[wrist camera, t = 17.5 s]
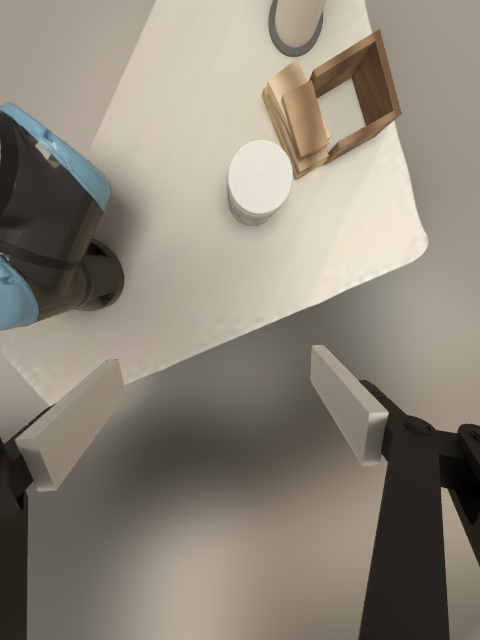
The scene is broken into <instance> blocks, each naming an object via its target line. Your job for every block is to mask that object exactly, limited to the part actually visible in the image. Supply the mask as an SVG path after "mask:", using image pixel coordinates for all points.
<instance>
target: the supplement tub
mask: <svg viewBox="0 0 480 640" xmlns="http://www.w3.org/2000/svg"><path fill="white" fill-rule="evenodd" d="M292 183H293V169H292V165H291V162H290V159H289V157H288V155H287V154H286V152H285V151H284V150H283V149H282V148H281V147H280V146H279V145H277V144H276V143H274V142H272V141H269V140H264V139H259V140H253V141H250V142H248V143H246V144H245V145H243V146H242V147H241V148H240V149H239V150H238V151H237V152H236V153H235V155H234V156H233V158H232V160H231V163H230V166H229V169H228V174H227V190H228V201H229V207H230V210H231V212H232V214H233V215H234V217H235V218H236V219H237V220H238V221H239V222H241V223H243V224H245V225H249V226H255V225H259V224H262V223H264V222H265V221H266V220H268V219H269V218H270V217H271V216H272V215H273V214H274V213H275V212H276V211H277V210H278V209H279V208H280V207H281V206H282V205H283V204H284V202H285V201H286V199H287V197H288V195H289V193H290V190H291V187H292Z"/></svg>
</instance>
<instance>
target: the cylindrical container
mask: <svg viewBox="0 0 480 640" xmlns="http://www.w3.org/2000/svg"><path fill="white" fill-rule="evenodd" d="M325 2H326V0H278V2H277V8H276V15H275V27H276V31H277V34H278V36H279V38H280V39H281V41H282V42H283V43H284V44H286V45H287V46H289V47H293V48H297V47H301V46H303V45H305V44H306V43H307V42H308V41H309V40H310V39H311V38H312V36H313V35H314V32H315V30H316V27H317V24H318V21H319V19H320V16H321V13H322V10H323V7H324V4H325Z"/></svg>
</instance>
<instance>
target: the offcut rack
mask: <svg viewBox="0 0 480 640" xmlns="http://www.w3.org/2000/svg"><path fill="white" fill-rule="evenodd" d="M351 77H352V80H353V83H354V86H355V90H356V93H357V97H358V100H359V103H360V107H361V110H362V113H363V117H364V120H365V123H366V127H364V128H362V129H360V130H359V131H357V132H355V133H353V134H352V135H350V136H348V137H347V138H345V139H343V140H341V141H340V142H338V143H337V144H336V145H335V146H334V147H333V148H332V149H331V151H330V152H329V153H328V152H327V149H326V146H327V145H328V144H329V142H328V139H329V138H330V137H331V136H330V134H329V132H328V130H327V127H326V125H325V123H324V120H323V118H322V116H321V113H320V109H319V105H318V102H317V98H318V97H320V96H321V95H323V94H325V93H326V92H328V91H330V90H331V89H333V88H335V87H336V86H338V85H340V84H341V83H343V82H345V81H346V80H348V79H349V78H351ZM262 97H263V100H264V102H265V105H266V107H267V110H268V112H269V115H270V117H271V120H272V122H273V125H274V127H275V130H276V132H277V135H278V138H279V140H280V143H281V145H282V148H283V150H284V151H285V152H286V154H287V155H288V157H289V159H290V162H291V165H292V169H293V175H294V178H295V180H296V179H298V178H300V177H301V176H303V175H305V174H307V173H308V172H310V171H312V170H314V169H315V168H317V167H319V166H321V165H323V164H324V165H325V164H327V163H329V162H331V161H332V160H334V159H336V158H338V157H339V156H341V155H343V154H345V153H347V152H348V151H350V150H352V149H354V148H355V147H357V146H359V145H361V144H362V143H364V142H366V141H368V140H370V139H371V138H373V137H375V136H376V135H377V134H378V133H380V132H381V131H382V130H383V129H384V128H385V127H387V126H388V125H389V124H390V123H391V122H392V121H394V120H395V119H396V118H397V117H398V116H399V115H401V111H400V106H399V102H398V99H397V95H396V91H395V87H394V83H393V79H392V75H391V71H390V67H389V64H388V60H387V56H386V52H385V48H384V44H383V40H382V36H381V32H380V30H377V31H376V32H374V33H372V34H371V35H369V36H368V37H366V38H364V39H363V40H361V41H359V42H358V43H356V44H355V45H353V46H351V47H350V48H348V49H347V50H345V51H343V52H342V53H340V54H339V55H337V56H335V57H334V58H332V59H330V60H329V61H327V62H326V63H324V64H322V65H321V66H319V67H318V68H316V69H314V70H313V73H312V75H311V77H310V80H309V82H307V81H306V79H305V77H304V74H303V72H302V70H301V67H300V65H299V63H298V61H297V59H296V60H295V61H293V62H292V63H291V64H289V65H288V66H287V67H286V68H284V69H283V70H282V71H280V72H279V73H278V74H276V75H275V76H274V77H273V78H271V79H270V80H269V81H268V84H267V87H265V88H264V89H263V95H262Z"/></svg>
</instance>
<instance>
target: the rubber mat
mask: <svg viewBox="0 0 480 640" xmlns="http://www.w3.org/2000/svg"><path fill="white" fill-rule="evenodd" d="M277 2H278V0H274V1H273V3H272V6H271V9H270V15H269V32H270V36H271V39H272V41H273V43H274V45H275V46H276V48H277V49H278V50H279V51H280V52H281V53H283V54H284V55H287V56H290V57H297V56H301V55H303V54H305V53H307V52H308V51H309V50H310V49H311V48H312V47H313V46H314V44H315V43H316V41H317V39H318V37H319V34H320V32H321V28H322V23H323V10H322V13H321V16H320V19H319V21H318V24H317V27H316V30H315V32H314V35H313V36H312V38H311V39H310V40H309V41H308V42H307V43H306V44H305V45H303V46H301V47H297V48H293V47H289V46H287V45H286V44H284V43H283V42H282V41H281V39H280V38H279V36H278V34H277V31H276V27H275V15H276V8H277Z"/></svg>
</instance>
